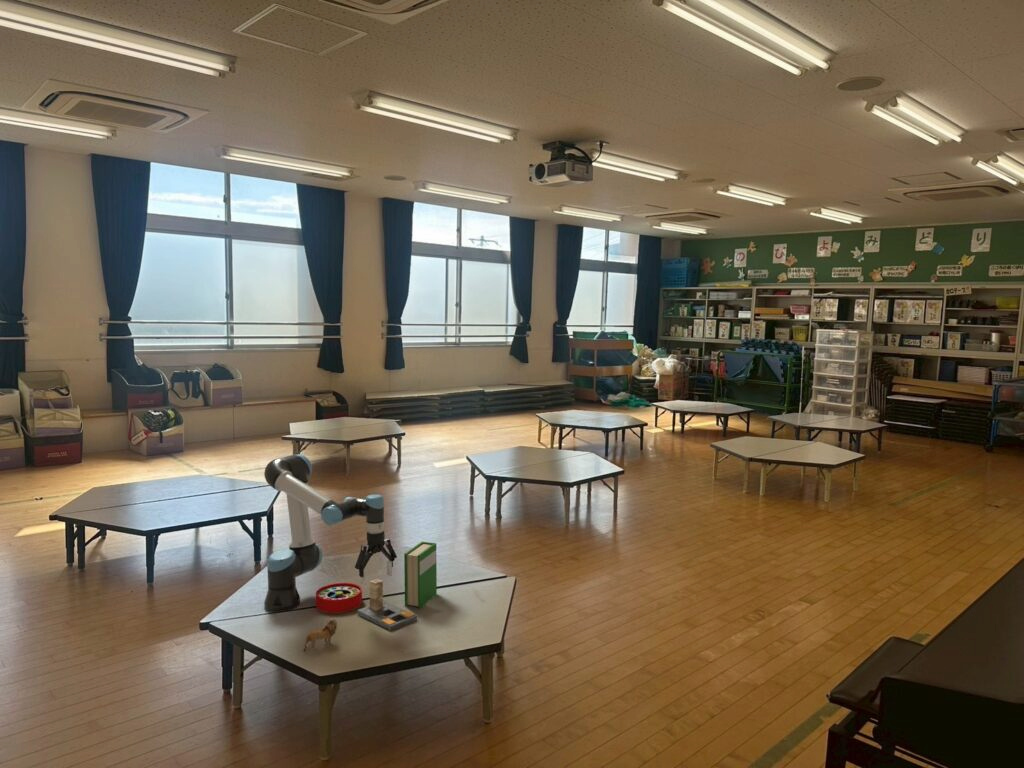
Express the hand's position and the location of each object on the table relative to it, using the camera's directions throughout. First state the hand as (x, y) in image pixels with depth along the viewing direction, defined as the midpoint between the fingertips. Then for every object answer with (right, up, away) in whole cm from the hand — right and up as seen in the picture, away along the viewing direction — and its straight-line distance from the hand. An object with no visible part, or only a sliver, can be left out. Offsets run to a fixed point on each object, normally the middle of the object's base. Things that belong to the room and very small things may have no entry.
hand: (376, 579), depth 297 cm
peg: (0, -15, +2) cm, 15 cm away
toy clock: (-19, -14, +11) cm, 26 cm away
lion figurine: (-16, -18, -29) cm, 37 cm away
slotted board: (+5, -15, -4) cm, 16 cm away
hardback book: (+17, -14, +15) cm, 27 cm away
